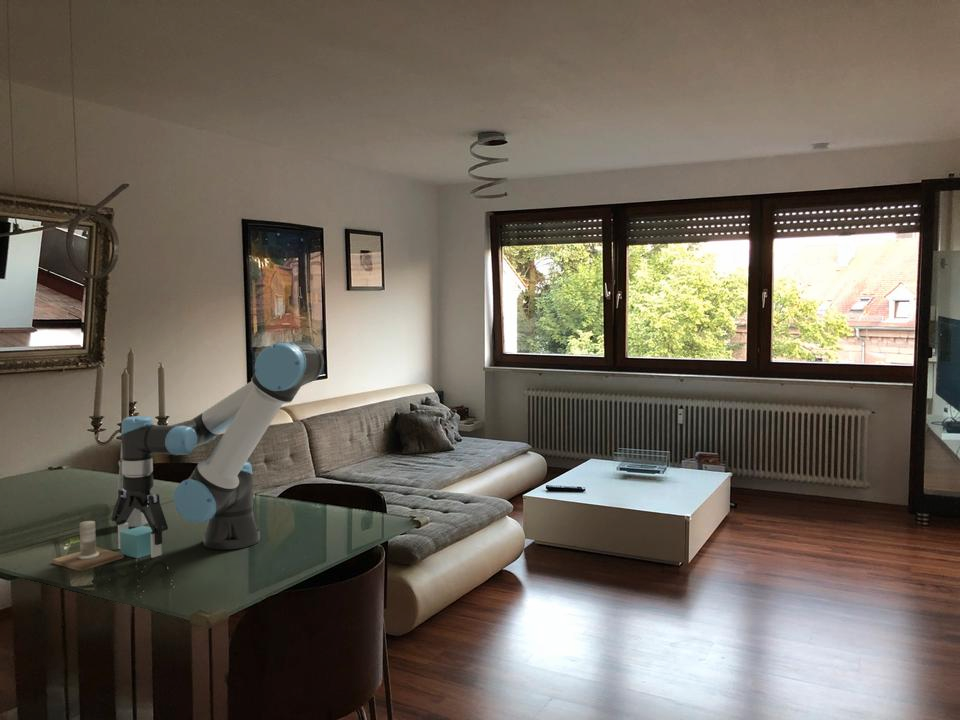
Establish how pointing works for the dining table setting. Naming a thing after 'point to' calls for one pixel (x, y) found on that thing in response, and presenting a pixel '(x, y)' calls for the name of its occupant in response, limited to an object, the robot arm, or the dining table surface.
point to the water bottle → (136, 516)
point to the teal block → (136, 541)
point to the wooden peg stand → (87, 551)
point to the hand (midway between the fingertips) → (139, 551)
